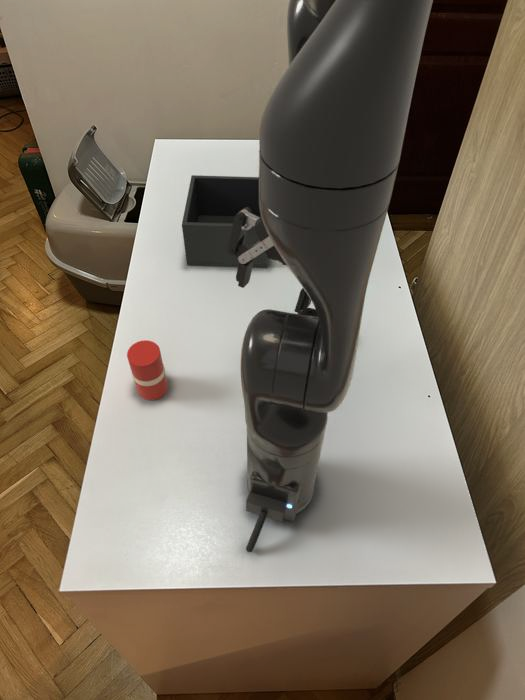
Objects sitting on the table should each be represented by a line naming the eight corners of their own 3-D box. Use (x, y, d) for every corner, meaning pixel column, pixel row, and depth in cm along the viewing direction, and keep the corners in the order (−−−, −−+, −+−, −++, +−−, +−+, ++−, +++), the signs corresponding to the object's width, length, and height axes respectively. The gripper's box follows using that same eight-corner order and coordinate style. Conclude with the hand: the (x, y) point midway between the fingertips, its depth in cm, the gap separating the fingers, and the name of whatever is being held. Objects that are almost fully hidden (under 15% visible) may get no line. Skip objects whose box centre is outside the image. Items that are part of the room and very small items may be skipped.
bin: (267, 268, 103) (268, 227, 95) (187, 265, 103) (181, 224, 95) (269, 218, 113) (270, 177, 105) (195, 215, 113) (191, 175, 105)
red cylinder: (160, 403, 83) (152, 369, 76) (132, 396, 84) (120, 361, 77) (172, 379, 86) (165, 344, 79) (145, 372, 87) (135, 336, 80)
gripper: (231, 172, 60) (212, 289, 70) (346, 218, 57) (308, 333, 68) (259, 155, 65) (237, 265, 76) (366, 196, 63) (328, 305, 73)
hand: (271, 297), depth 72 cm, fingers open, 8 cm apart
